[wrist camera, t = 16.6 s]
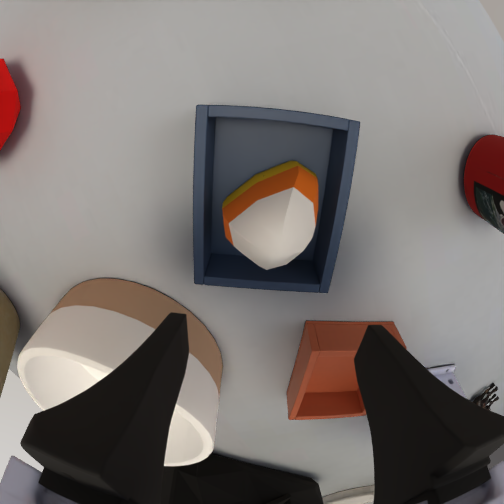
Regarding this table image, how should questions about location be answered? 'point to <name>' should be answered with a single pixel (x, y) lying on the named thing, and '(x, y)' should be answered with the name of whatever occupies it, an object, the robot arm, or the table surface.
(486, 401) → the horse figurine
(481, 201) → the beverage can
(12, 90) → the ball
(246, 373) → the table surface
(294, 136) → the slate bin
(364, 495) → the lid
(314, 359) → the terracotta bin
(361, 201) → the table surface
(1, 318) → the plant pot
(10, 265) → the table surface
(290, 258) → the candy corn
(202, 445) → the bowl
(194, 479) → the black hard case
